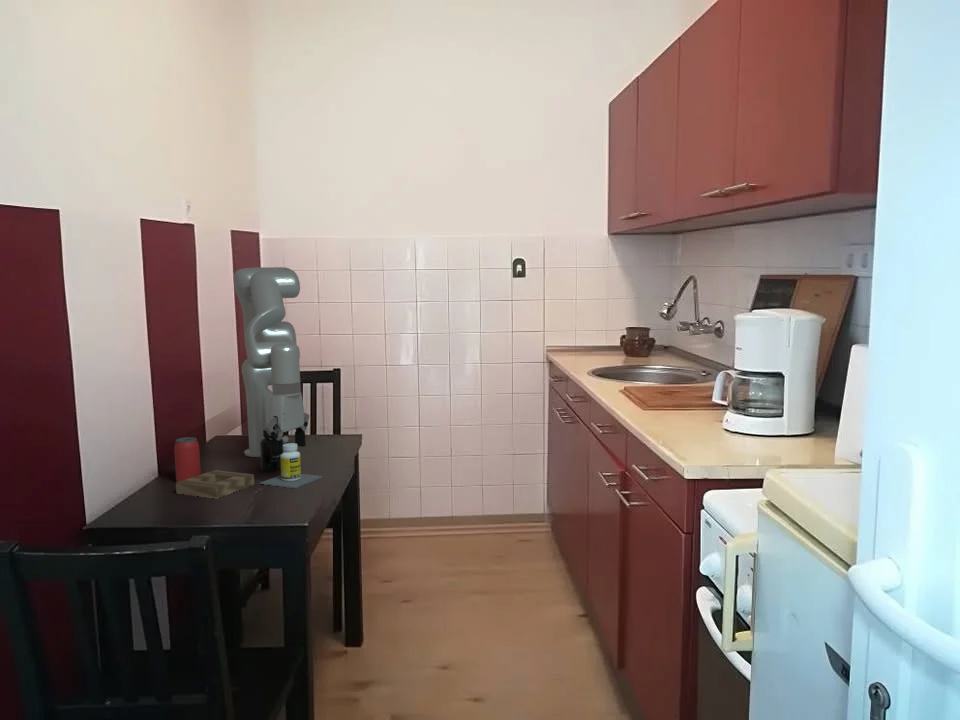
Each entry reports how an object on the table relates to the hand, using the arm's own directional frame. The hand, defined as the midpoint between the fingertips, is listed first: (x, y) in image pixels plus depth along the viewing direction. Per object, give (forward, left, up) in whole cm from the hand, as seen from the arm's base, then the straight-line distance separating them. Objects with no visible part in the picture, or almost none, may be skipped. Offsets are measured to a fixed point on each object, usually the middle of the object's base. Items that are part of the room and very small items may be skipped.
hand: (289, 449), depth 211 cm
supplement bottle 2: (0, 0, -9) cm, 9 cm away
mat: (0, 0, -9) cm, 9 cm away
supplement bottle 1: (-9, -14, -9) cm, 19 cm away
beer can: (+10, -28, -9) cm, 31 cm away
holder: (+14, -14, -9) cm, 22 cm away
